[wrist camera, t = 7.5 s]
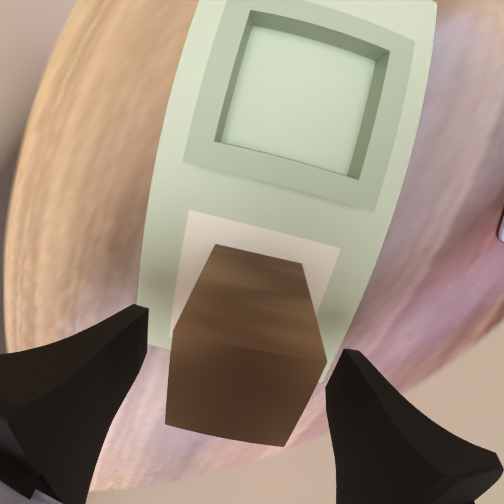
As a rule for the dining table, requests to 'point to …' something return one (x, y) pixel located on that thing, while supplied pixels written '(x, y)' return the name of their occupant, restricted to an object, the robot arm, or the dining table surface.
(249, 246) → the pocket board
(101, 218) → the dining table surface
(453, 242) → the dining table surface
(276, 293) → the walnut post
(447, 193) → the dining table surface
